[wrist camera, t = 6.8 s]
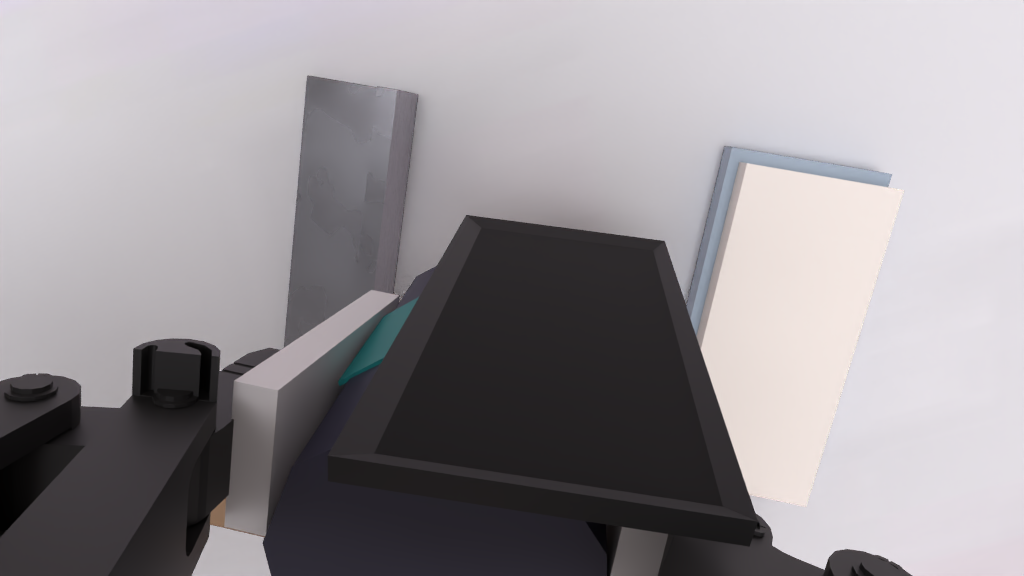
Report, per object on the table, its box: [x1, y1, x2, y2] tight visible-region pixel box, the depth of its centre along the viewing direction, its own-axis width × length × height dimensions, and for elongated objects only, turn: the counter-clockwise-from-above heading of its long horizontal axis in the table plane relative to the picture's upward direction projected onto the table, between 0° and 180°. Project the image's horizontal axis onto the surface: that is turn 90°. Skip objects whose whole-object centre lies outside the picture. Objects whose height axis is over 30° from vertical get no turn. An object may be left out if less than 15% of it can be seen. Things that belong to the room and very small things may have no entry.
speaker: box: [263, 215, 758, 576], centre depth 14 cm, size 8×6×10 cm
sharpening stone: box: [686, 147, 904, 507], centre depth 27 cm, size 6×14×3 cm, turn 170°
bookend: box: [284, 76, 418, 347], centre depth 29 cm, size 5×14×3 cm, turn 170°
